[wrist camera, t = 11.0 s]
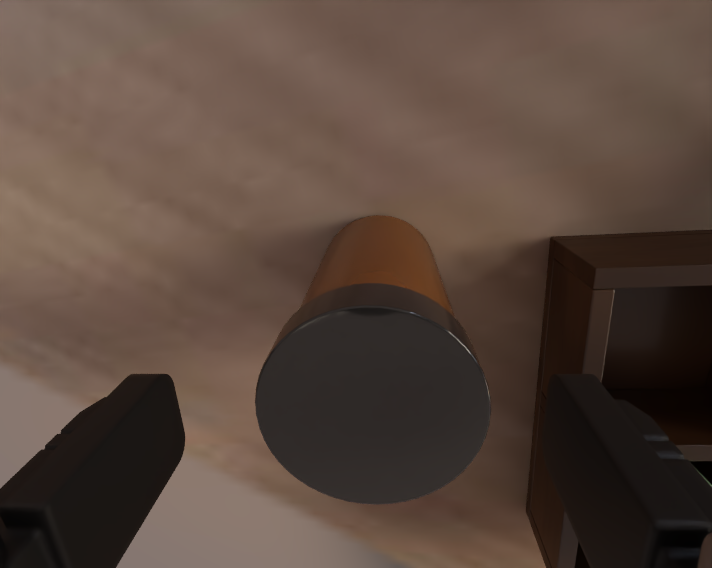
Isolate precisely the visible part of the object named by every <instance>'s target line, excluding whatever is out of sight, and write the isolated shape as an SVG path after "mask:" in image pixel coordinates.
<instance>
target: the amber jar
mask: <svg viewBox="0 0 712 568" xmlns="http://www.w3.org/2000/svg"><path fill="white" fill-rule="evenodd" d="M255 406H256V416H257V420H258V424H259V428H260V430H261V433H262V435H263V438H264V440H265V442H266V444H267V446H268V447H269V449H270V451H271V452H272V454H273V455H274V456H275V458H276V459H277V460H278V462H279V463H280V464H281V465H282V466H283V467H284V468H285V469H286V470H287V471H288V472H289V473H291V474H292V475H293V476H294V477H296V478H297V479H298V480H300V481H301V482H303V483H304V484H306V485H307V486H309V487H311V488H313V489H315V490H317V491H319V492H321V493H323V494H326V495H328V496H331V497H334V498H337V499H341V500H345V501H349V502H355V503H361V504H393V503H399V502H405V501H409V500H413V499H417V498H420V497H422V496H425V495H428V494H430V493H432V492H434V491H436V490H438V489H440V488H442V487H444V486H445V485H447V484H448V483H450V482H451V481H452V480H454V479H455V478H456V477H457V476H459V475H460V474H461V473H462V472H463V471H464V470H465V469H466V468H467V467H468V466H469V464H470V463H471V462H472V461H473V459H474V458H475V456H476V455H477V453H478V452H479V450H480V448H481V446H482V444H483V442H484V440H485V437H486V434H487V430H488V427H489V422H490V414H491V402H490V394H489V388H488V384H487V381H486V378H485V376H484V373H483V370H482V368H481V365H480V362H479V360H478V357H477V355H476V352H475V350H474V347H473V344H472V342H471V340H470V338H469V337H468V335H467V333H466V331H465V330H464V328H463V327H462V326H461V324H460V323H459V322H458V321H457V319H456V318H455V316H454V313H453V311H452V308H451V305H450V302H449V299H448V296H447V293H446V290H445V288H444V285H443V282H442V279H441V276H440V273H439V270H438V267H437V265H436V262H435V259H434V256H433V253H432V250H431V248H430V246H429V244H428V242H427V241H426V239H425V238H424V236H423V235H422V234H421V233H420V232H419V231H418V230H417V229H416V228H414V227H413V226H412V225H410V224H408V223H407V222H405V221H403V220H400V219H398V218H394V217H390V216H379V215H376V216H368V217H364V218H360V219H358V220H355V221H353V222H351V223H350V224H348V225H346V226H345V227H344V228H342V229H341V230H340V231H339V232H338V233H337V234H336V236H335V237H334V238H333V239H332V241H331V243H330V244H329V246H328V248H327V251H326V253H325V255H324V257H323V259H322V261H321V263H320V265H319V268H318V270H317V272H316V274H315V276H314V278H313V280H312V282H311V285H310V287H309V289H308V291H307V293H306V295H305V297H304V299H303V302H302V304H301V306H300V308H299V310H298V311H297V312H295V313H294V314H293V315H292V316H291V318H290V319H289V320H288V321H287V323H286V324H285V325H284V326H283V328H282V330H281V332H280V333H279V335H278V337H277V339H276V341H275V343H274V345H273V347H272V349H271V351H270V352H269V354H268V356H267V358H266V360H265V362H264V364H263V367H262V369H261V372H260V375H259V378H258V382H257V387H256V397H255Z"/></svg>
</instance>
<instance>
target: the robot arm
mask: <svg viewBox="0 0 712 568" xmlns="http://www.w3.org/2000/svg"><path fill="white" fill-rule="evenodd" d="M184 446H185V432H184V427H183V422H182V418H181V413H180V409H179V405H178V400H177V396H176V391H175V387H174V383H173V380H172V378H171V377H170V376H169V375H168V374H131V375H129V376H128V377H127V378H125V379H124V380H123V381H122V382H121V383H120V384H119V385H118V386H117V387H116V388H115V389H114V390H113V391H112V392H111V393H110V394H109V395H108V396H107V397H104V398H103V399H101V400H99V401H98V402H96V403H94V404H93V405H91V406H90V407H88V408H86V409H85V410H83V411H81V412H80V413H79V414H78V415H77V416H76V417H75V418H73V420H71V421H70V422H69V423H68V424H67V425H66V426H65V427H64V428H63V429H62V430H61V434H57V435H56V436H55V437H54V438H53V439H52V440H51V441H50V442H48V444H46V445H45V449H44V450H41V451H39V452H38V453H37V454H36V455H35V456H34V457H33V458H32V459H31V460H30V461H29V462H28V463H27V464H26V465H25V466H24V467H22V468H21V469H20V470H19V471H18V472H17V473H16V474H15V475H14V476H13V477H12V478H11V479H10V480H9V481H8V482H7V483H6V484H5V485H4V486H3V487H2V488H1V489H0V568H116V567H117V565H118V563H119V561H120V560H121V558H122V557H123V554H124V553H125V552H126V550H127V548H128V547H129V545H130V543H131V542H132V540H133V538H134V537H135V535H136V533H137V532H138V530H139V528H140V527H141V525H142V523H143V522H144V520H145V518H146V517H147V515H148V513H149V512H150V510H151V509H152V507H153V505H154V504H155V502H156V500H157V499H158V497H159V495H160V494H161V492H162V490H163V489H164V487H165V485H166V484H167V482H168V480H169V479H170V477H171V476H172V474H173V472H174V471H175V469H176V467H177V465H178V464H179V462H180V460H181V458H182V455H183V451H184ZM542 453H543V459H544V463H545V466H546V469H547V471H548V473H549V476H550V478H551V480H552V482H553V485H554V487H555V489H556V491H557V494H558V496H559V498H560V500H561V503H562V505H563V507H564V510H565V512H566V514H567V516H568V519H569V521H570V523H571V525H572V528H573V530H574V532H575V534H576V537H577V539H578V541H579V543H580V546H581V548H582V550H583V552H584V555H585V557H586V559H587V561H588V564H589V566H590V568H712V487H711V486H710V485H709V484H708V482H707V481H706V480H705V479H704V478H703V477H702V475H701V474H700V473H699V472H698V471H697V470H696V469H695V467H694V466H693V465H692V464H691V463H690V462H689V460H688V459H684V455H683V453H682V452H681V451H680V450H679V449H678V448H677V447H676V445H675V444H674V443H673V442H672V441H669V440H668V436H667V435H666V434H665V433H664V432H663V430H662V429H661V428H660V427H659V426H658V425H657V423H656V422H655V421H654V420H653V419H652V418H651V417H650V416H649V415H647V414H646V413H644V412H643V411H641V410H640V409H638V408H637V407H635V406H634V405H632V404H631V403H629V402H628V401H626V400H619V399H613V397H612V396H611V395H610V393H609V392H608V391H607V390H606V388H605V387H604V386H603V385H602V383H601V382H600V381H599V380H598V378H597V377H596V376H595V375H593V374H553V375H551V377H550V379H549V382H548V389H547V397H546V405H545V413H544V421H543V429H542Z"/></svg>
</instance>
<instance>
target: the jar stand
mask: <svg viewBox="0 0 712 568" xmlns="http://www.w3.org/2000/svg"><path fill="white" fill-rule="evenodd" d="M553 374H593V375H595V376H596V377H597V378H598V380H599V381H600V382H601V383H602V385H603V386H604V387H605V388H606V390H607V391H608V392H609V393H610V395H611V396H612V397H613V399H619V400H626V401H628V402H629V403H631V404H632V405H634V406H635V407H637V408H638V409H640V410H641V411H643V412H644V413H646V414H647V415H649V416H650V417H651V418H652V419H653V420H654V421H655V422H656V423H657V425H658V426H659V427H660V428H661V429H662V430H663V432H664V433H665V434H666V435H667V436H668V440H669V441H672V442H673V443H674V444H675V445H676V447H677V448H678V449H679V450H680V451H681V452H682V453H683V455H684V459H688V460H689V461H691V462H692V463H693V464H694V465H695V467H696V468H697V469H698V470H699V471H700V472H701V473H702V474H703V475H704V477H705V478H706V479H707V480H708V481H709V482H710V483H711V484H712V230H699V231H676V232H652V233H629V234H605V235H581V236H558V237H551V238H550V248H549V259H548V271H547V282H546V293H545V304H544V315H543V326H542V338H541V349H540V360H539V371H538V382H537V394H536V405H535V416H534V427H533V438H532V449H531V461H530V472H529V483H528V494H527V505H526V513H527V516H528V519H529V521H530V524H531V527H532V529H533V532H534V535H535V538H536V541H537V543H538V546H539V549H540V552H541V555H542V557H543V560H544V563H545V566H546V568H590V566H589V564H588V561H587V559H586V557H585V555H584V552H583V550H582V548H581V546H580V543H579V541H578V539H577V537H576V534H575V532H574V530H573V528H572V525H571V523H570V521H569V519H568V516H567V514H566V512H565V510H564V507H563V505H562V503H561V500H560V498H559V496H558V494H557V491H556V489H555V487H554V485H553V482H552V480H551V478H550V476H549V473H548V471H547V469H546V466H545V463H544V459H543V453H542V429H543V421H544V413H545V405H546V397H547V389H548V382H549V379H550V377H551V375H553Z"/></svg>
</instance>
